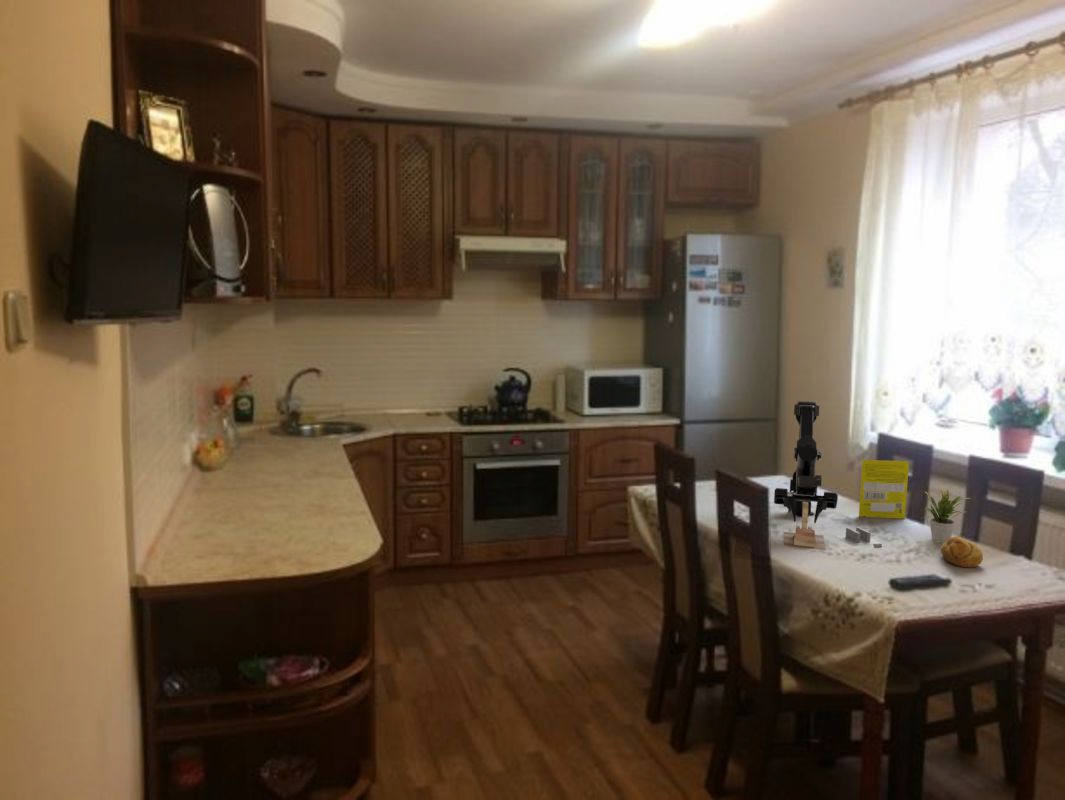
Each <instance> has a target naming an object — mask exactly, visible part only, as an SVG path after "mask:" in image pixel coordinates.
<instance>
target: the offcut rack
mask: <svg viewBox="0 0 1065 800" xmlns="http://www.w3.org/2000/svg"><path fill="white" fill-rule="evenodd" d="M795 527H796V528H799V529H801V526H800V525H796V526H795ZM796 528H795V529H796ZM807 529H811V530H813V528H812V526H808V525H807ZM782 532H783V534H782V535H783V546H784V547H791V548H792V547H795V548H805V549H817V550H824V551H825V550H827V548H826V543H825V538H824V535H822V534H815V539H816V542H815V547H810V546H799V545H794V534H795V533H796V532H790V531H782Z"/></svg>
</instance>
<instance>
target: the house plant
mask: <svg viewBox="0 0 1065 800" xmlns="http://www.w3.org/2000/svg"><path fill="white" fill-rule="evenodd" d="M939 490H940V492H941V495H942V496H941V499H940V500H938V502H937V503H936V500H935V499H934V497H933V496H931V494H929V493H928V492H927V491H923V492H924V493H925V494H926V495H927V496H926V498H927V499H928V500H929V502H930V507H929V508H928V507H925V509H924V511H928V512H929V513H931V514H932V515H933V517H931V518H930V519H929V522H930V533H931V540H932V539H933V540H932V541H934V540H935V541H934V542H937V541H938V543H944V542H945V541H946V540H947V539H949V538H952V535H953V531H954V529H955V525H956V522H955V521H954V520H952V519H953V518H954V517H956V516H957V515H959V514H963V515H965V513H967V511H964V510H963V511H959V510H958V511H957V510H956V509H955V508H956V507H958V506H959V505H961V504H962V502H960V501H963V500H965V499H968V500H969V499H970V500H971V499H972V500H973V498H971V497H963V496H965V494H961V495H958V496H957V497H955V498H954V499H951V500H950V493H949V490H948V489H946V491H944V492H943V491H942V489H941V488H940V489H939ZM958 502H959V503H958ZM955 513H957V514H956V515H954V516H953V517H951V516H952V515H953V514H955ZM949 517H951V518H950V519H949Z"/></svg>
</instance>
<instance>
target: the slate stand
mask: <svg viewBox="0 0 1065 800" xmlns="http://www.w3.org/2000/svg"><path fill="white" fill-rule="evenodd" d="M871 533H872V532H871V531H868V530H867V529H864V528H863V527H860V526H856V528H855V529H853V528H851V527H846V528H845V534H840V535H837V534H836V535H835V534H834V537H835V538H838V539H839V540H842V541H844V542H845V543H848V545H851V546H864V545H873V547H874V548H880V547H881V548H882V547H883V543H882V542H880V541H878V540H876V539H874V538H872V537H871Z"/></svg>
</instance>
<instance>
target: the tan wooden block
mask: <svg viewBox="0 0 1065 800" xmlns="http://www.w3.org/2000/svg"><path fill="white" fill-rule="evenodd" d="M808 518H809V515H808V502H803V509H802V516H801V526H800V529H808V522H809V519H808Z"/></svg>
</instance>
